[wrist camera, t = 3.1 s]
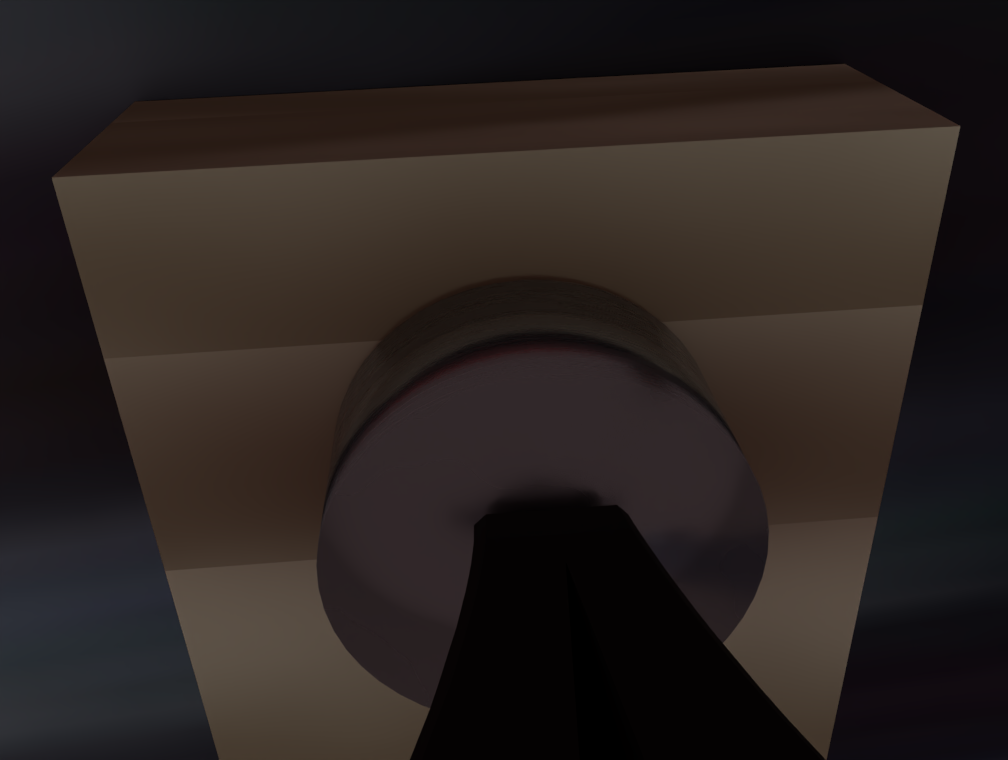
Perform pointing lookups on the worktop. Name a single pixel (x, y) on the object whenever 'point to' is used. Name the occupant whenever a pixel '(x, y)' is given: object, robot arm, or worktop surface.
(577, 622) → the robot arm
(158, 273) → the knob bar
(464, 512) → the knob
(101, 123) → the worktop surface
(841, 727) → the worktop surface
